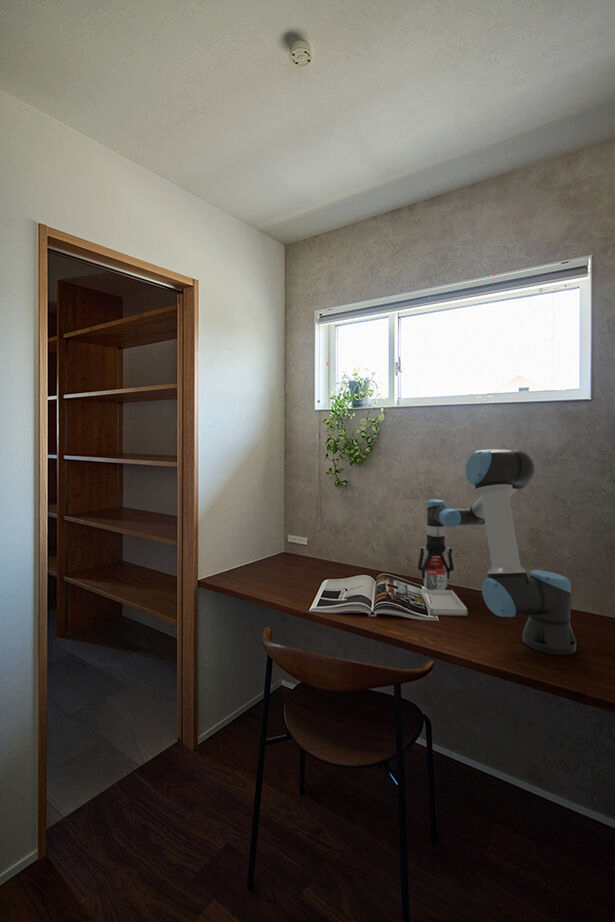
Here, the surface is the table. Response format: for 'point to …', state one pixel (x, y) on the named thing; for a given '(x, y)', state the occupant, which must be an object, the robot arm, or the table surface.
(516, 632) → the table surface
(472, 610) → the table surface
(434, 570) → the ink box
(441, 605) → the tray
